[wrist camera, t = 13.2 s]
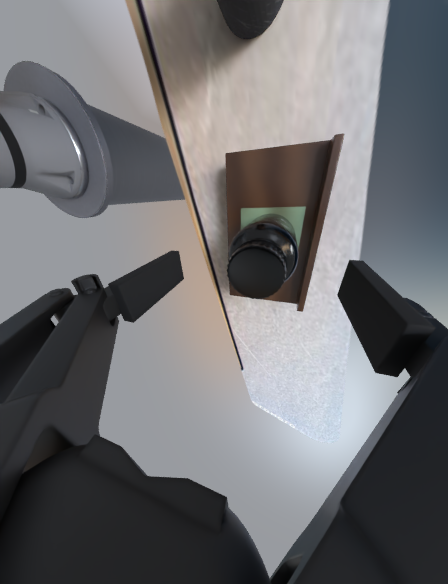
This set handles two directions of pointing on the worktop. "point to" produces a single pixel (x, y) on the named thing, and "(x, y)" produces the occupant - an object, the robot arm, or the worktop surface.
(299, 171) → the wooden plaque with label
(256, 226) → the supplement bottle
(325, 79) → the worktop surface
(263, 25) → the travel mug
